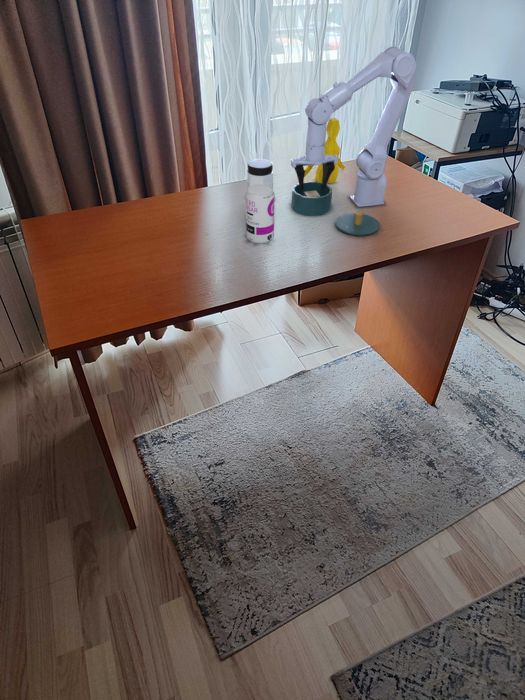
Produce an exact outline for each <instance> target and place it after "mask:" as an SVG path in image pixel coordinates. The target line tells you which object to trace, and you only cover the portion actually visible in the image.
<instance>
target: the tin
mask: <svg viewBox="0 0 525 700" xmlns="http://www.w3.org/2000/svg"><path fill="white" fill-rule="evenodd" d="M306 191H317V192H318V194H319V195H320V197H306V196H304V192H306ZM332 199H333V188H332V187H331V185H328V184H327V185H326V187H323V185H322V183H321V182H317V181H311V180H309V181H304V187H303V190H301V189H300V187H299V182H298V183H296V184H294V186H292V189H291V209H292V211H293V212H295V213H297V214H299V215H301V216H306V217H307V216H309V217H318V216H322V215H325V214H327V213H329V211H331V208H332V207H331V206H332Z"/></svg>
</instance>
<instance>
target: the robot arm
mask: <svg viewBox="0 0 525 700" xmlns="http://www.w3.org/2000/svg"><path fill="white" fill-rule="evenodd" d="M417 68H418V65H417V62H416V59H415V56H414V55H413V54H412V53H410V52H407V51H405V50H402V49H400V48H399V47H397V46H394V45H393V46H389V47H387V48H386V49H385V50H383V51H381V52H380V53H378V55H377V56H376V57H375V58H374V59H372V61H370V63H368V64H367V65H366V66H365V67H364V68H362V69H361V70H360V71H358V72H357V73H356V74H355V75H354V76H353V77H351V78H350V79H349V80H348V81H342V80H341V81H339V82H338V81H336V82H334V83H333V84H332V86H333V87H331V88H330V89H328V90H326V91H325V92H324V93H321V94H319V95H318V97H317V98H316V97H315V98H312V99H311V100H310V101H309V102H308V103H307V105H306V108H304V113H305V115H306V118H307V127H306V141H305V155H304V156H301V157H297V158H291V160H290V166H291V168H293V169H294V172H295V174H296V177H297V180H298V183H299V187H300V189H301V190H303V187H304V182H305V181H304V180H305V177H304V175H305V168H304V167H305V166H306V167H307V166H308V165H314V166H318V165H321V164H323V177H322V185H323V187H326V185H328V184H327V182H328V179H329V177H330V175H331V173H332V172H333V170H334V169H335V165H334V164H336V163H337V161H338V157H339V156H338V157H337V156H336V155H324V152H325V142H326V140H327V124H328V122H329V119H331V117H332V114H334V113H335V112H336V111H338V110H340V109H341V108H342V107H344V106H345V105H346V104H347V103H349V102H350V101H351V100H352V98H353V94H354V93H356V92H357V91H359V90H361V89H362V88H363V87H365V86H367V85H368V84H369V83H371V82H373V81H375V79H377V78H387V79H388V78H389V80H390V84H391V86H392V90H391V92H390V95H389V97H388V99H387V101H386V103H385V106H384V109H383V111H382V113H381V115H380V118H379V120H378V122H377V125H376V127H375V130H374V132H373V134H372V137H371V139H370V141H368V142H367V143H366V144H364V146H363V148H362V150H361V151H360V152H359V153H357V156H356V157H355V158H356V159H355V164H356V166H357V168H358V170H357V175H356V180H355V181H356V182H355V189H354V194H353V195H349V199H351V201H352V202H353V203H354V204H355V206H356V207H358V208H362V207H372V206H381V205H385V202H384V201H385V196H386V190H387V177H386V175H385V174H384V173H385V170H386V163H387V160H388V153H387V151H388V150H387V148H388V145H389V143H390V141H391V139H392V136H393V134H394V132H395V130H396V128H397V126H398V123H399V121H400V119H401V117H402V114H403V112H404V110H405V109H406V107H407V104H408V101H409V99H410V96H411V94H412V93H413V90H414V87H415V72H416V70H417Z"/></svg>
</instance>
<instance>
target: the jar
mask: <svg viewBox="0 0 525 700" xmlns="http://www.w3.org/2000/svg"><path fill="white" fill-rule="evenodd" d="M273 169H274V168H273V162H272V161H271V160H269V159H266V158H255V159H251V160H249V161H248V162H247V170H246V178H247V179H246V185H247V187H246V189H247V190H248V188H249V187H250V186H252V185H256V184H264V185H268V186H270V187H272V190H273V191H274V172H273ZM247 190H246V191H247Z"/></svg>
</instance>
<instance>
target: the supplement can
mask: <svg viewBox="0 0 525 700" xmlns="http://www.w3.org/2000/svg"><path fill="white" fill-rule="evenodd" d="M275 195H276V194H275V192H274V189H273V190H272V187H270V186H268V185H264V184H256V185H252V186H250V187H249V188H248V190H246V192H245V225H246V226H245V229H246V235H245V236H246V238H247V239H248V240H249V241H250V242H251V243H254V244H258V245H259V244H261V245H262V244H266V243H269V242H270V241H272V240H273V239H274V237H275V201H276V197H275Z"/></svg>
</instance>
